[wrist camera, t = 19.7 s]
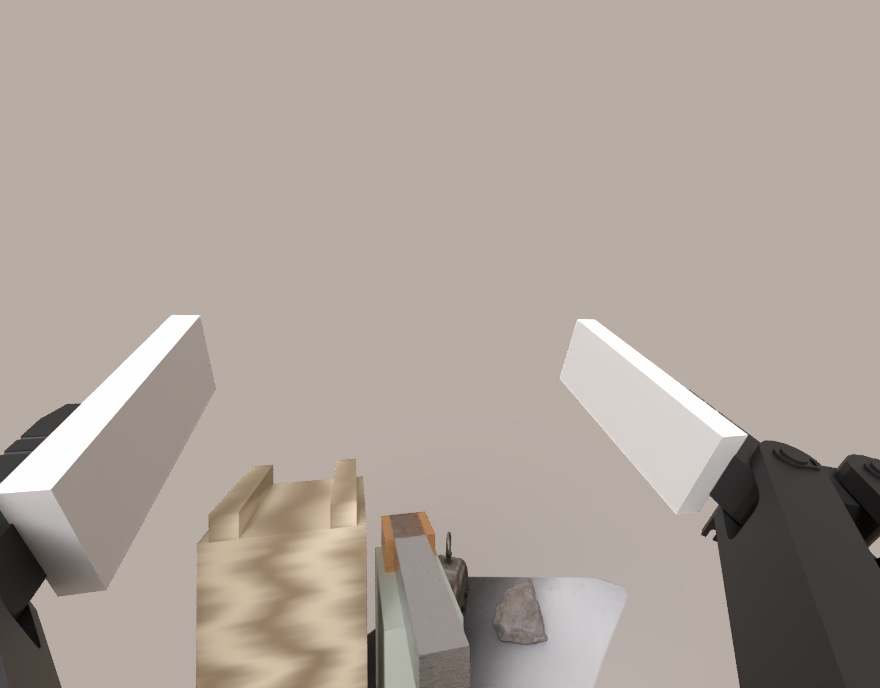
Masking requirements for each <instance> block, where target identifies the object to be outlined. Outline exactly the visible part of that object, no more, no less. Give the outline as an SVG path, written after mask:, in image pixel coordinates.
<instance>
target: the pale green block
mask: <svg viewBox="0 0 880 688" xmlns="http://www.w3.org/2000/svg"><path fill="white" fill-rule="evenodd" d="M435 559H436V561H437V564H438V567H439V569H440V572H441V574H442V577H443V579H444V582H445V584H446V587H447V589H448V592H449V595H450V597H451V600H452V602H453V605H454V607H455V610H456V612H457V615H458V617H459V620H460V623H461V625H462V628H463V615H462V613H461V610H460V608H459V605H458V603H457V601H456V598H455V596H454V593H453V591H452V589H451V586H450V584H449V581H448V579H447V577H446V574H445V572H444V569H443V567H442V565H441V562H440V560H439V557H438V555H437V553H436V550H435ZM375 592H376V593H375V600H376V601H375V602H376V688H416V686H415V681H414V675H413V670H412V664H411V659H410V653H409V648H408V642H407V637H406V631H405V626H404V620H403V615H402V609H401V604H400V598H399V593H398V587H397V582H396V576H395V572H388V573H385V567H384V560H383V552H382V547H376V548H375ZM463 630H464V629H463Z"/></svg>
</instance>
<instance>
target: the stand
mask: <svg viewBox="0 0 880 688" xmlns="http://www.w3.org/2000/svg"><path fill="white" fill-rule="evenodd" d="M365 515H366V514H365V501H364V486H363V477H356V459H346V460H337V463H336V470H335V476H334V479H327V480H314V481H303V482H291V483H279V484H273V465H265V466H252V468H251V469H250V470H249V471H248V472H247V473H246V474H245V475H244V476H243V477H242V479H241V480H240V481H239V482H238V483H237V484H236V485H235V486H234V487H233V489H232V490H231V491H230V492H229V493H228V494H227V495H226V496H225V497H224V499H223V500H222V501H221V502H220V503H219V504H218V505H217V506H216V507H215V508H214V510H213V511H212V512H211V513H210V514H209V530H208V531H207V533H206V534H205V535H204V536H203V537H202V539H201V540H200V541H199V542H198V543H197V642H196V644H197V645H196V646H197V647H196V648H197V649H196V652H197V653H196V661H197V662H196V688H367V563H366V561H367V559H366V558H367V556H366V555H367V554H366V552H367V551H366V516H365Z"/></svg>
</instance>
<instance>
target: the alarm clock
mask: <svg viewBox="0 0 880 688" xmlns="http://www.w3.org/2000/svg"><path fill="white" fill-rule="evenodd" d="M448 538H449V541H450V543H449V550H448ZM451 555H452V552H451V533H450V532H448V533H447V539H446V556H443V555H439V556H438V557H439V560H440V562H441V565H442V567H443V569H444V572H445V574H446V577H447V579H448V581H449V584H450V586H451V589H452V591H453V593H454V596H455V598H456V601H457V603H458V605H459V608H460V610H461V613H462V615H463V622H464V616H465V609H466V600H467V597H468V594H467V590H469V586H468V571H467V566H466V563H465V562H464V560H462V559H461V558H455V557H451Z"/></svg>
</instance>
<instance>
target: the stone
mask: <svg viewBox="0 0 880 688" xmlns="http://www.w3.org/2000/svg"><path fill="white" fill-rule="evenodd" d="M493 625H494V627H495V629H496V631H497V633H498V636H499V639H500V640H501V641H512V642H514V643H519V644H532V643H536V642H543V641H547V639H548V638H547V636H546V635H545V633H544V624H543V618H542V615H541V611H540V606H539V603H538V601H537V600H536V597H535V589H534V587H533V584H532V580H531V579H530V578H527V579H525V580H523V581H522V582H521V583H519V584H516V585H514V586H513V588H510V589H507V590H506V592H505V594H504V596H503V599H502V601H501V603H500V604H498V605H497V609H496V613H495V617H494V619H493Z"/></svg>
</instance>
